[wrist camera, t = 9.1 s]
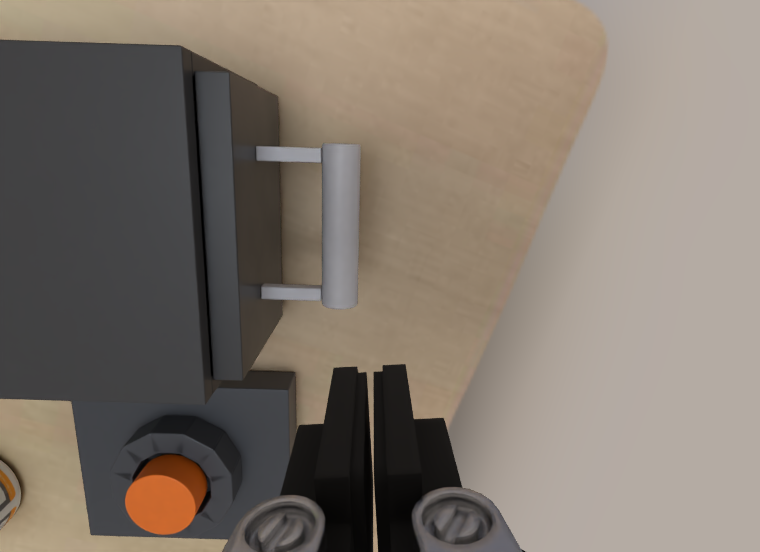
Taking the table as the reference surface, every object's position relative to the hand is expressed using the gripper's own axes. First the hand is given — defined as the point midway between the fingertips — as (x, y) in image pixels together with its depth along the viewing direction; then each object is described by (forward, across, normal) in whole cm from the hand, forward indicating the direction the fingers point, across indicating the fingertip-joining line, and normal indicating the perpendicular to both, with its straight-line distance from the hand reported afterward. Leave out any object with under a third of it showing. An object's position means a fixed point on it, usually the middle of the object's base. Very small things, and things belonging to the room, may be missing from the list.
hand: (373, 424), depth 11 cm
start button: (+13, +11, +11) cm, 20 cm away
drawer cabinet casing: (+16, +13, -4) cm, 21 cm away
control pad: (+16, +11, +11) cm, 23 cm away
